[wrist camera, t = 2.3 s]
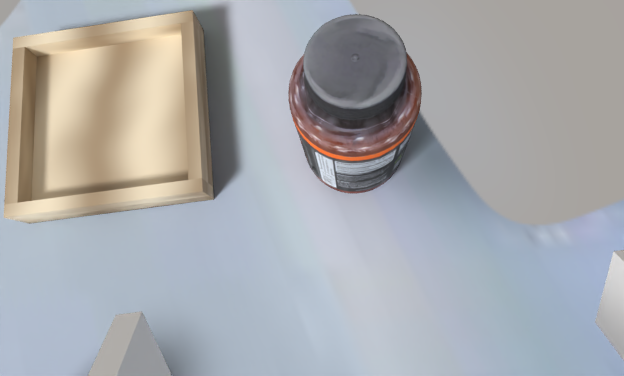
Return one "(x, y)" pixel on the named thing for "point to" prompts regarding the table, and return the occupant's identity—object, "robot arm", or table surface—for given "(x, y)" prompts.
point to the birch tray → (108, 119)
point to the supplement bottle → (354, 102)
